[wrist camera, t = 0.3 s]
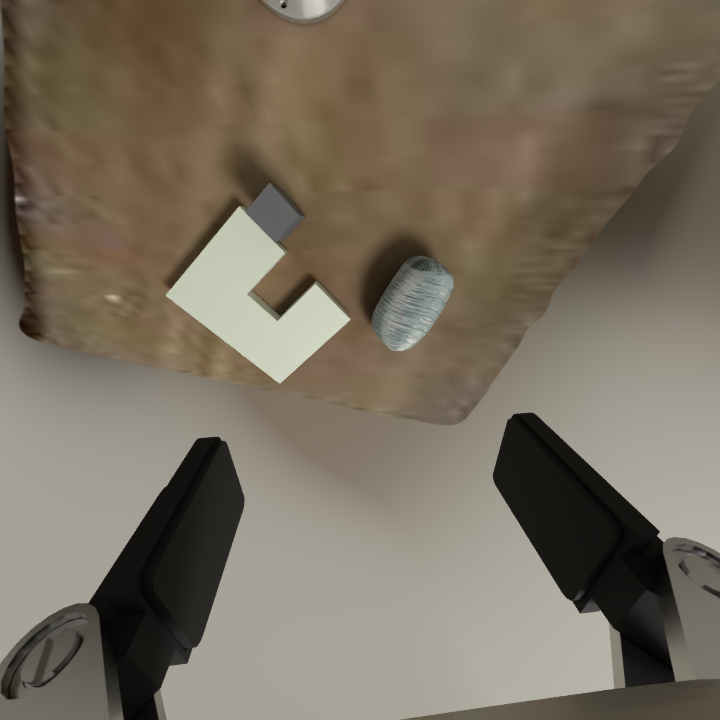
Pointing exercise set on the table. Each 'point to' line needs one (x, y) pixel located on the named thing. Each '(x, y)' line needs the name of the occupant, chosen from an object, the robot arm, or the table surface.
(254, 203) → the gray rectangular block
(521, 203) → the table surface
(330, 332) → the board
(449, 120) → the table surface
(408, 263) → the streaked blue-grey ovoid
